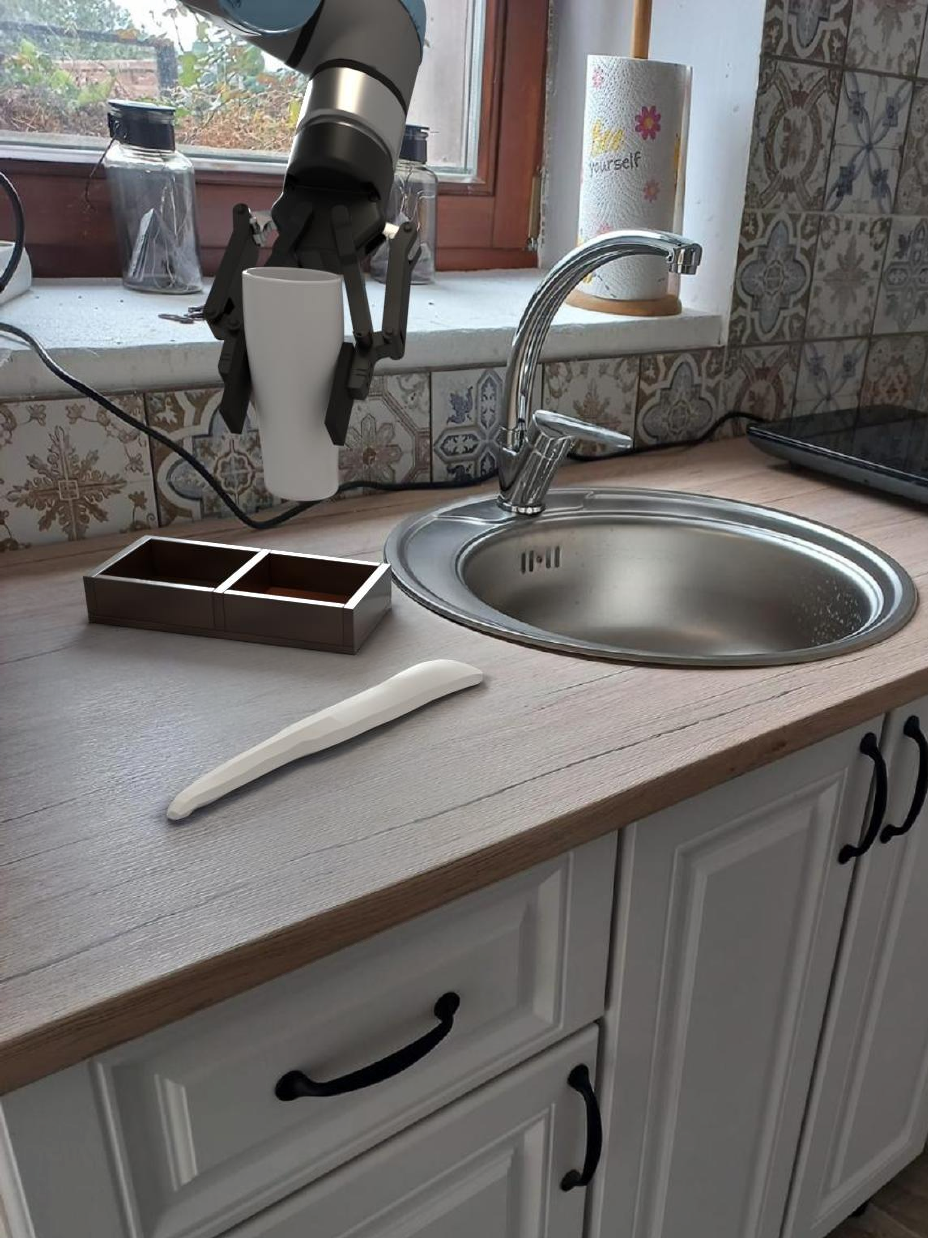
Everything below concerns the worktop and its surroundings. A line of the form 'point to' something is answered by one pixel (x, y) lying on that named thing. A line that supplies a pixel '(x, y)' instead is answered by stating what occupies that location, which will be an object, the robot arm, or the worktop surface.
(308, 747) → the white long thin piece
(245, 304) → the drinking glass
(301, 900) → the worktop surface
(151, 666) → the worktop surface
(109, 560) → the divided tray
